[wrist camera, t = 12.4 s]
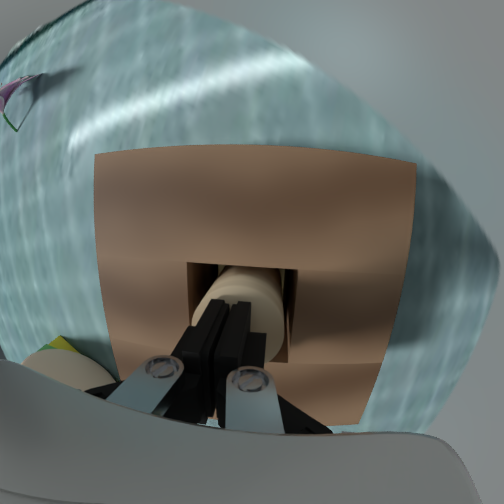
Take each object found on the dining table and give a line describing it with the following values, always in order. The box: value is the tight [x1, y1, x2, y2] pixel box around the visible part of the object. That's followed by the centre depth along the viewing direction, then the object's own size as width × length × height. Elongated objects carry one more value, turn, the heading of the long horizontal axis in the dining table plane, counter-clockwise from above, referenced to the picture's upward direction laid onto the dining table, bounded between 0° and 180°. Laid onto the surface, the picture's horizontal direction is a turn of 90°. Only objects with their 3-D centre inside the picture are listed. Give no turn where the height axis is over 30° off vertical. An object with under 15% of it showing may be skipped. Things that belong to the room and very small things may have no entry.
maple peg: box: [192, 265, 284, 364], centre depth 15 cm, size 4×4×7 cm
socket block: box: [94, 145, 417, 426], centre depth 17 cm, size 16×16×9 cm
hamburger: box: [21, 336, 115, 392], centre depth 21 cm, size 12×8×12 cm
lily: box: [0, 74, 40, 132], centre depth 16 cm, size 12×12×10 cm
